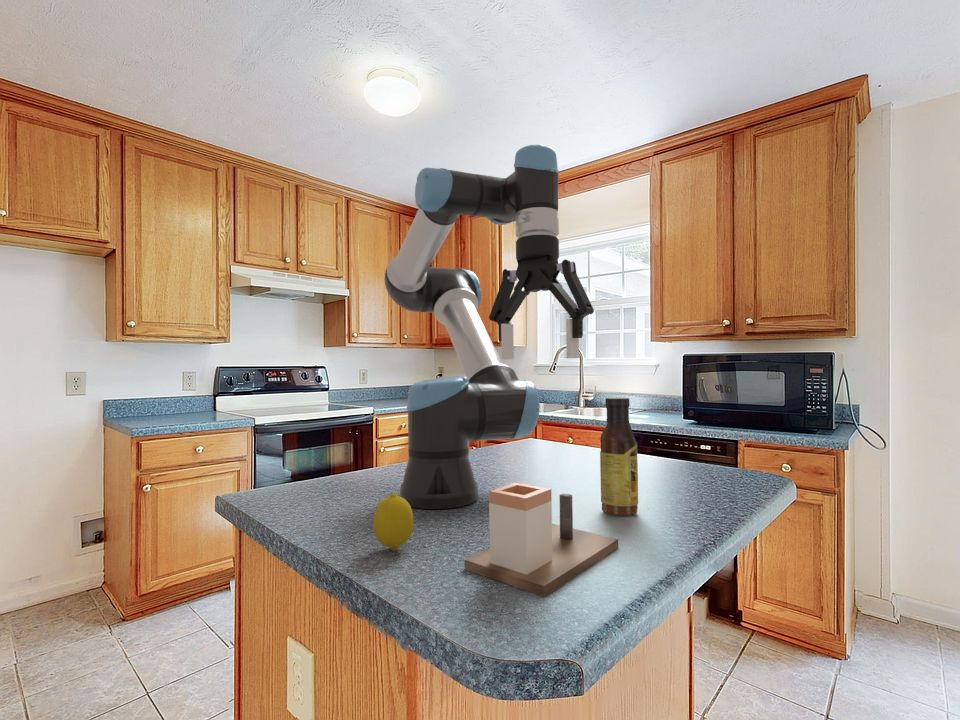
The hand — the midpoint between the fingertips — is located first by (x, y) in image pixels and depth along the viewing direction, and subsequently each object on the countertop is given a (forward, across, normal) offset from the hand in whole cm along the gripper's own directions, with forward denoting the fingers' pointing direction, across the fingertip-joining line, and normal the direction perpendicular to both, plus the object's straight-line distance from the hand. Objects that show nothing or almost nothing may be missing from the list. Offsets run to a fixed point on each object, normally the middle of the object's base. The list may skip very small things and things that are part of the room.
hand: (538, 359), depth 88 cm
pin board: (+27, +12, -17) cm, 34 cm away
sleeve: (+26, +12, -22) cm, 36 cm away
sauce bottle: (+27, +11, +8) cm, 30 cm away
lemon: (+27, -6, -28) cm, 39 cm away
